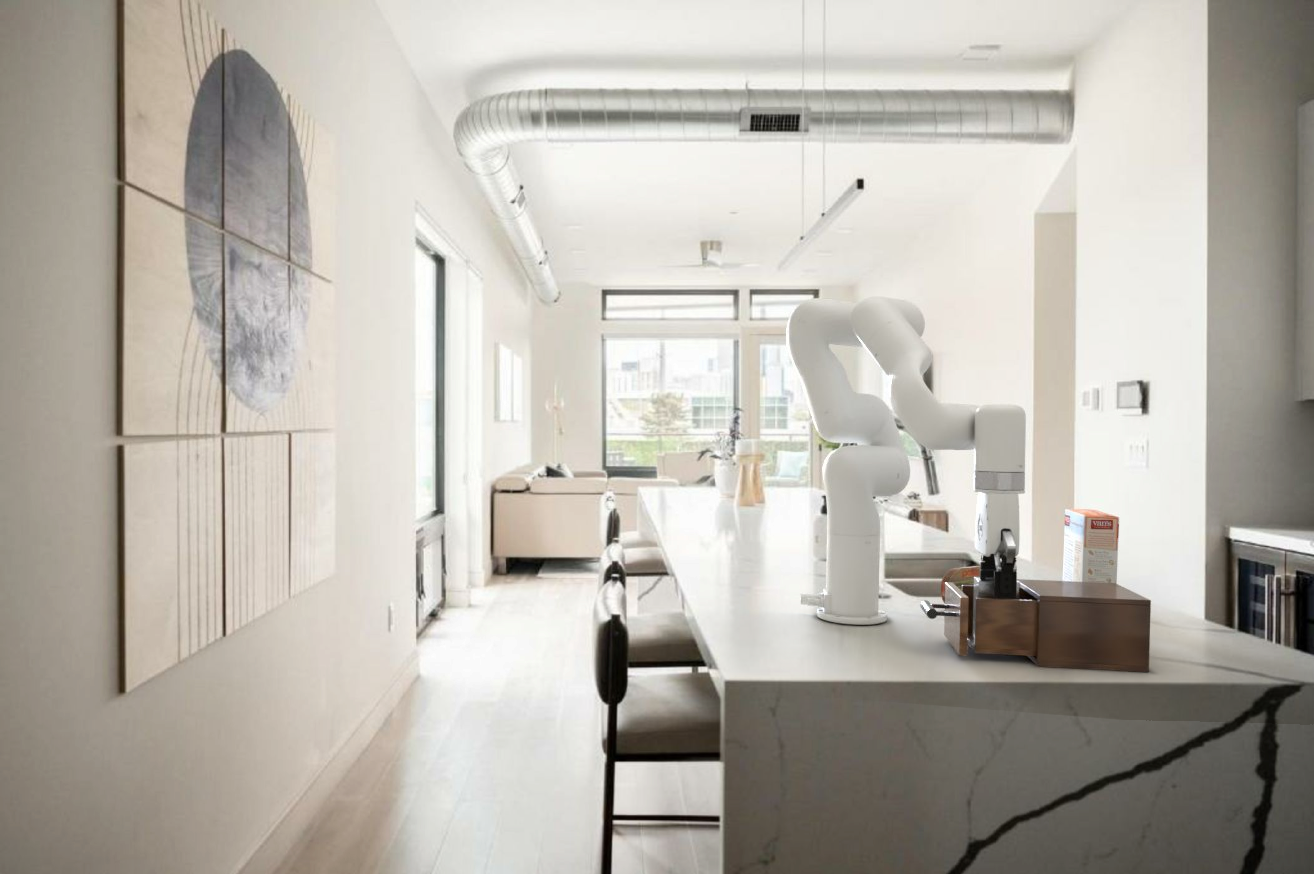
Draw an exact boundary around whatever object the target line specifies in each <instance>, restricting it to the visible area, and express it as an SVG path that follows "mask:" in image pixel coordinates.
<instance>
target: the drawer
mask: <svg viewBox="0 0 1314 874" xmlns="http://www.w3.org/2000/svg"><path fill="white" fill-rule="evenodd" d="M973 596H974V585H962V591H961V590H960V589H959V588H958V587H957V586H956V585H955V584H954V583H952V582H945V603H931V602H930V601H929V600H926V599H924V600H922V601H920V604H919V606H920V608H921V610H922V611H923V612H924V614H925V615H926V617H927V618H929V619H931V620H934V619H936V618H937V617H944V619H943V620H944V621H943V622H944V624H943V635H944V637H945V638H946V640H947V641H948V642H949V643H950V645H951V647H953V649H954V650H955V652H956V653H957V654H958V655H959V656H965V657H966V656H968V646H969V647H970V648H971V649H972V651H973V652H974V653H975V654H985V655H987V654H989V655H1008V656H1026V657H1028V656H1037V622H1038V599H1036V598H1035V597H1034V596H1032V595H1031V594H1029V593H1028V592H1026V591H1025V590H1024V589H1022V588H1021V587H1019V599H996V598H976V610H975V638H974V637H973ZM936 609H942V610H943V609H944V611H939V610H936Z"/></svg>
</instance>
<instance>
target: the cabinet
mask: <svg viewBox="0 0 1314 874" xmlns="http://www.w3.org/2000/svg"><path fill="white" fill-rule="evenodd" d="M1017 582H1019V587H1021V588H1022V589H1024V590H1025V591H1026V592H1028V593H1029V594H1031V595H1032V596H1034V597H1035V598H1036V599H1038V622H1037V656H1027V657H1028V659H1029V660H1030V661H1032V662H1033V663H1034V664H1035V665H1036V666H1037V667H1043V668H1063V669H1081V670H1100V671H1101V670H1102V671H1103V670H1104V671H1118V672H1119V671H1120V672H1136V673H1137V672H1139V673H1150V649H1151V648H1150V645H1151V643H1150V642H1151V641H1150V640H1151V639H1150V638H1151V610H1152V609H1151V607H1152V600H1151V599H1149V598H1147V597H1145V596H1143V595H1141V594H1139V593H1137V592H1135V591H1132V590H1130V589H1129V588H1127V587H1124V586H1122V585H1120V584H1118V583H1117V584H1116V583H1099V582H1074V581H1063V580H1051V579H1050V580H1049V579H1048V580H1047V579H1045V580H1044V579H1022V578H1017Z"/></svg>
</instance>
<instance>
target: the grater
mask: <svg viewBox="0 0 1314 874" xmlns="http://www.w3.org/2000/svg"><path fill="white" fill-rule="evenodd" d="M994 571H997V570H986V569H979V577H974V596H973V637H974V638H975V610H976V598H996V597H995V596H994V578H986V575H988V576H994ZM996 599H1019V582H1017V593H1016V598H996Z"/></svg>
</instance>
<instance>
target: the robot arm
mask: <svg viewBox="0 0 1314 874" xmlns="http://www.w3.org/2000/svg"><path fill="white" fill-rule="evenodd" d="M925 328H926V322H925V317H924V314H923V312H922V311H921V309H920V308H919V307H918V306H917V305H916V304H915V303H913V302H912V301H908V300H905V299H899V298H892V297H885V296H870V297H866V298H864V299H862V300H860V301H859V302H856V301H848V300H841V299H835V298H829V297H828V298H825V297H815V298H809V299H806V300H803V301H801V302H800V303H799V304H797V305H796V306H795V307H794V309H793V311H791V314H790V316H789V318H788V321H787V326H786V332H785V333H786V334H785V335H786V336H785V337H786V338H785V339H786V347H787V351H788V353H789V357H790V359H791V362H792V364H793V366H794V369H795V371H796V373H797V374H798V377H799V379H800V382H801V385H802V389H803V393H804V396H805V399H806V402H807V406H808V408H809V411H810V415H811V417H812V421H813V424H814V427H815V429H816V431H817V433H818V435H819V437H820V438H821V439H823V440H824V441H825V442H829V443H833V444H856V445H844V446H841V447H838V448H836V449H834V450H832V451H831V452H830V453H829V454H828V455H827V456H826V458H825V460H824V462H823V466H822V481H823V487H824V493H825V500H826V513H827V514H826V517H827V518H826V562H825V563H826V564H825V565H826V567H825V569H826V570H825V588H824V589H823V590H822V592H817V594H811V593H800V605H807V606H809V607H810V606H811V607H815V606H816V607H818V608H817V609H816V616H817V617H818V618H819V619H820V620H823V621H826V622H831V623H836V624H843V625H855V626H856V625H857V626H859V625H860V626H866V625H868V626H869V625H877V624H878V625H879V624H882V623H885V622H886V621H887V620H888V613H887V612H886V611H884V610H882V609H879V601H880V600H879V598H880V597H879V595H880V557H881V556H880V554H881V518H880V514H879V510H878V508H877V506H876V503H875V500H874V498H875V497H876V498H879V497H889V496H894V495H897V494H900V493H901V492H902V491H903V490H905V489H906V487H908V486H907V485H908V484H909V481H910V477H911V465H910V460H909V458H908V453H907V451H906V448H905V445H904V443H903V440H902V437H901V434H900V431H899V428H898V425H897V423H896V420H895V418H894V417H895V416H896V418H898V420H899V422H900V423H901V424H902V425H903V427H904V428H905V430H907V432H908V434H910V436H911V437H912V438H913V439H914V440H915V441H916V442H917V443H919V444H920V445H921V446H923V447H924V448H927V449H929V450H935V451H944V450H945V451H946V450H948V451H950V450H951V451H972V450H974V453H973V455H974V456H973V492H974V493H978V495H977V501H976V513H975V529H974V530H975V531H974V549H975V551H977V552H978V553H979V554H980V563H979V564H980V565H979V566H980V569H986V570H997V571H994V576H988V575H986V578H994V596H995V597H996V598H1016V593H1017V579H1018V572H1017V571H1018V566H1017V557H1018V556H1019V551H1020V501H1019V499H1020V498H1019V495H1022V494H1025V493H1026V436H1027V435H1026V434H1027V432H1026V430H1027V425H1026V424H1027V418H1026V417H1027V416H1026V410H1025V409H1024V408H1023V407H1022V406H1020V405H1017V404H983V405H975V404H964V403H963V404H962V403H949V402H948V403H947V402H940V400H938V398H937V397H936V396H935V395H934V393H933V392H932V391H931V389H930V388H929V386H928V385H927V384H926V383H925V381H924V379H923V377H922V376H923V375H924V374H925V373H926V372H927V370H929V368H930V367H931V365H932V363H933V356H934V355H933V352H932V349H931V347H929V345H928V344H927V343H926V342H925V341H924V340H923V338H922V336H923V335H924V332H925ZM830 345H833V346H845V347H855V348H857V347H858V348H865V350H866V351H867V353H869V354H870V356H871V358H873V360H874V362H876V364H877V365H878V366H879V368H880V369H881V371H882V372H883V373H884V374H885V376H886V377H887V379H888V380H889V383H888V392H889V393H888V394H889V399H890V404H891V407H892V411H893V412H894V414H895V416H894V415H893V412H892V411H891V409H890V407H889V406H888V404H887V403H886V402H885V400H883V399H882V398H880V397H879V396H877V395H874V394H871V393H860V392H859V393H858V392H856V391H855V390H854V389H853V387H852V386H851V383H850V381H849V378H848V375H847V370H846V369H845V367H844V365H843V363H842V362H841V360H840V359H839V357H838V356H837V355H836V354H835V353H834V351H833V350H832V349H831V348H830Z"/></svg>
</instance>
